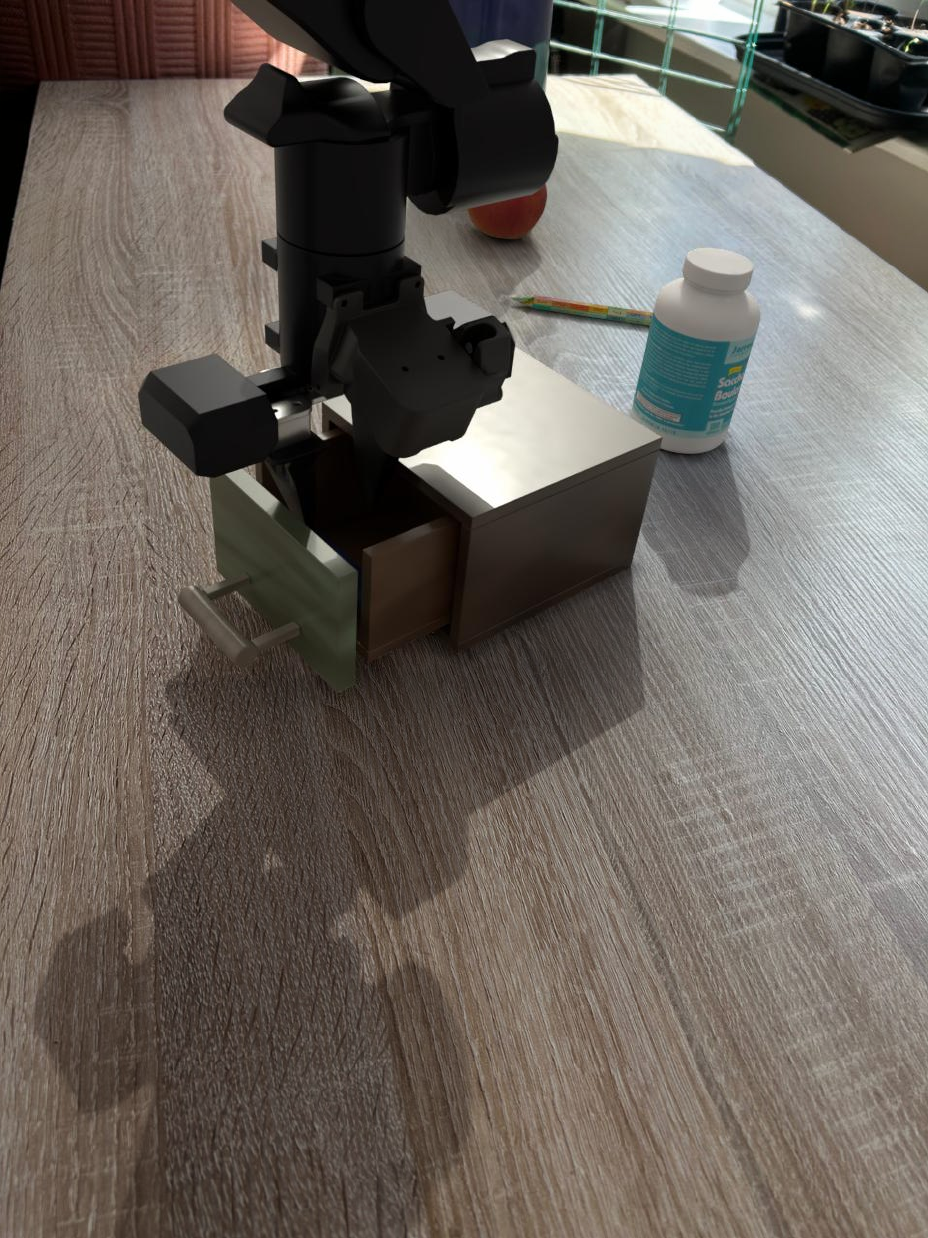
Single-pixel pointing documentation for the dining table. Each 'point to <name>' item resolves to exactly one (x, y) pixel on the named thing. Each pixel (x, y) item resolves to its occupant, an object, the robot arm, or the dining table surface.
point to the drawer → (328, 566)
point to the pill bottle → (697, 351)
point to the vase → (509, 25)
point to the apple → (510, 215)
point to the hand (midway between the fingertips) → (337, 515)
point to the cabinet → (532, 497)
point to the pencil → (586, 309)
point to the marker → (351, 562)
